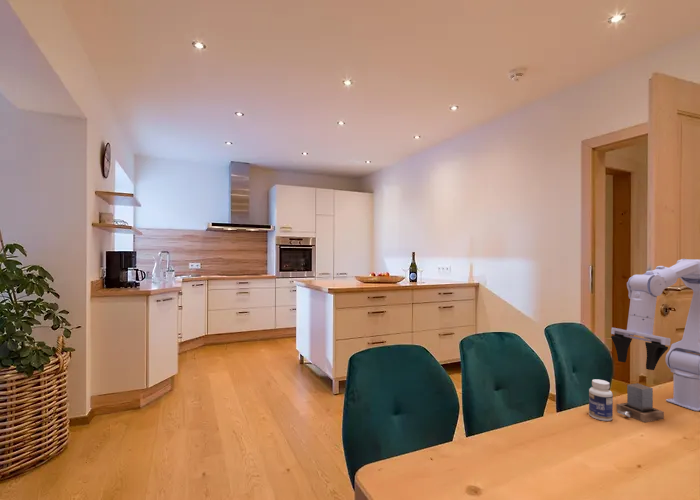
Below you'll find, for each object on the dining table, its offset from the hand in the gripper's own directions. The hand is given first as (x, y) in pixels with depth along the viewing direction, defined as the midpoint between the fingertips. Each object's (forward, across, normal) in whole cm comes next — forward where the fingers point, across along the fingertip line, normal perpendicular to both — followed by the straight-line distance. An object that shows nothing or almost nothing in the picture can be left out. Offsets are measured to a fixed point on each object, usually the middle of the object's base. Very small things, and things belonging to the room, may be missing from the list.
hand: (635, 365), depth 103 cm
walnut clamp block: (+14, 0, +3) cm, 14 cm away
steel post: (+13, 0, +4) cm, 14 cm away
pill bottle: (+16, -2, -8) cm, 18 cm away
